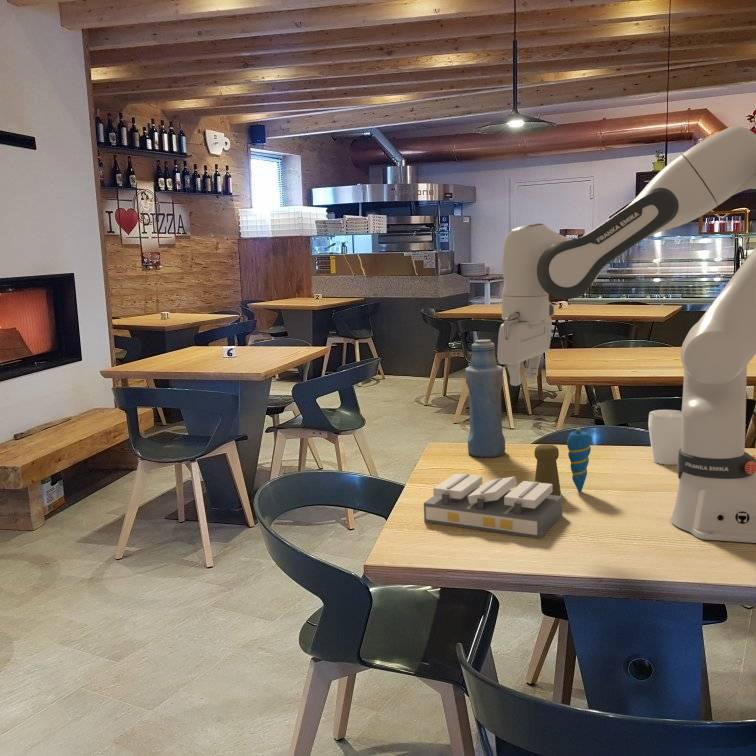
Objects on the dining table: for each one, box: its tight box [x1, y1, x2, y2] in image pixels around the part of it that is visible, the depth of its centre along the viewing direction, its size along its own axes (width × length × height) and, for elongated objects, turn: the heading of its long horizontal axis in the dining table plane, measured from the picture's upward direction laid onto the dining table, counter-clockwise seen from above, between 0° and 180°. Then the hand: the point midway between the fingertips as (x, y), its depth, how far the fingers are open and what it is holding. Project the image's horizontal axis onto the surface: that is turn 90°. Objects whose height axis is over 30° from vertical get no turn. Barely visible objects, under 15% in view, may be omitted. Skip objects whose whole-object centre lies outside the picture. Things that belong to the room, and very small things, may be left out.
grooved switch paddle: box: [432, 473, 483, 499], centre depth 163 cm, size 6×11×2 cm, turn 150°
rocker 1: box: [468, 475, 517, 504], centre depth 160 cm, size 6×11×2 cm, turn 150°
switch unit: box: [423, 485, 563, 540], centre depth 160 cm, size 24×14×6 cm, turn 60°
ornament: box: [566, 425, 592, 493], centre depth 174 cm, size 5×5×15 cm
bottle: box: [464, 339, 506, 459], centre depth 207 cm, size 10×10×30 cm
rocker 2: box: [504, 480, 552, 509], centre depth 156 cm, size 6×11×2 cm, turn 150°
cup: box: [647, 409, 682, 466], centre depth 194 cm, size 9×9×12 cm
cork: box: [533, 443, 562, 496], centre depth 173 cm, size 6×6×11 cm
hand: (524, 381), depth 156 cm, fingers open, 8 cm apart
